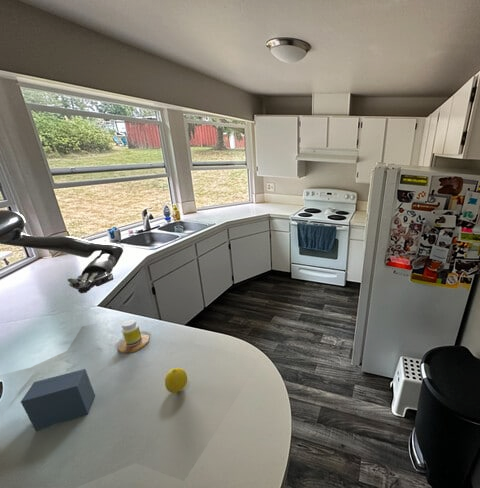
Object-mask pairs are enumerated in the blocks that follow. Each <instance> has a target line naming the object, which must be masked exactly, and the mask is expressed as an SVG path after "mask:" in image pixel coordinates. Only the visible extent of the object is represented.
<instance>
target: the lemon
mask: <svg viewBox="0 0 480 488" xmlns="http://www.w3.org/2000/svg"><path fill="white" fill-rule="evenodd" d="M187 383H188V375H187V371H185V369H183V368H182V367H174V368H172V369H170V370H168V372H167V373H166V375H165V377H164V387H165V389H166V390H167V391H168V392H169V393H172V394H176V393H179V392H181V391H183V389H184V388H185V387H186V385H187Z"/></svg>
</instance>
